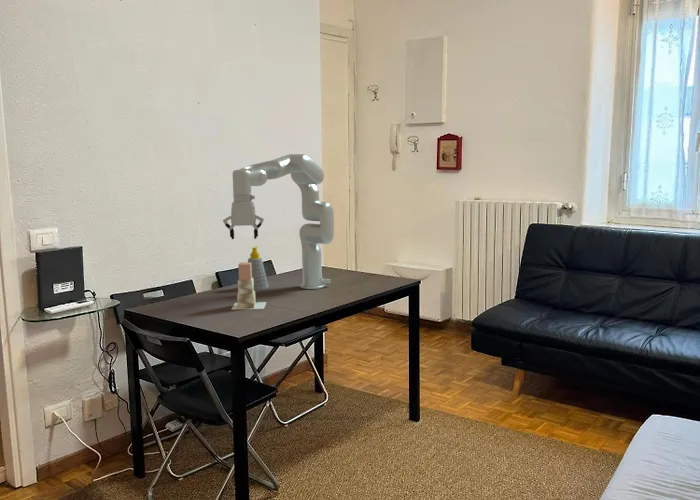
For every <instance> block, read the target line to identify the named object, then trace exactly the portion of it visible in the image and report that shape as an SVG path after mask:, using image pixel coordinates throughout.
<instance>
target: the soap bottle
mask: <svg viewBox="0 0 700 500" xmlns="http://www.w3.org/2000/svg"><path fill="white" fill-rule="evenodd" d="M251 249H252V251H251V253H250V255H249V256H250V257H248V259H247V262H251V265H252V278H253V281H254V291H255V292H256V291H257V292H259V291H263V290H264V291H265V290H267V289H269V282H268V279H267V274H266V271H265V270H266V269H265V267H264V262H263V258H262V257H260V252H258V250H257V249H258V246H255V247H251Z"/></svg>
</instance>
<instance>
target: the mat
mask: <svg viewBox="0 0 700 500" xmlns="http://www.w3.org/2000/svg"><path fill="white" fill-rule="evenodd" d="M266 305H267V301H259V302H257V301H256V305H255V307H254V308H238V305H237V302H234V304H233V306H232V307H231V310H232V311H233V310H264V309H265V307H266Z"/></svg>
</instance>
